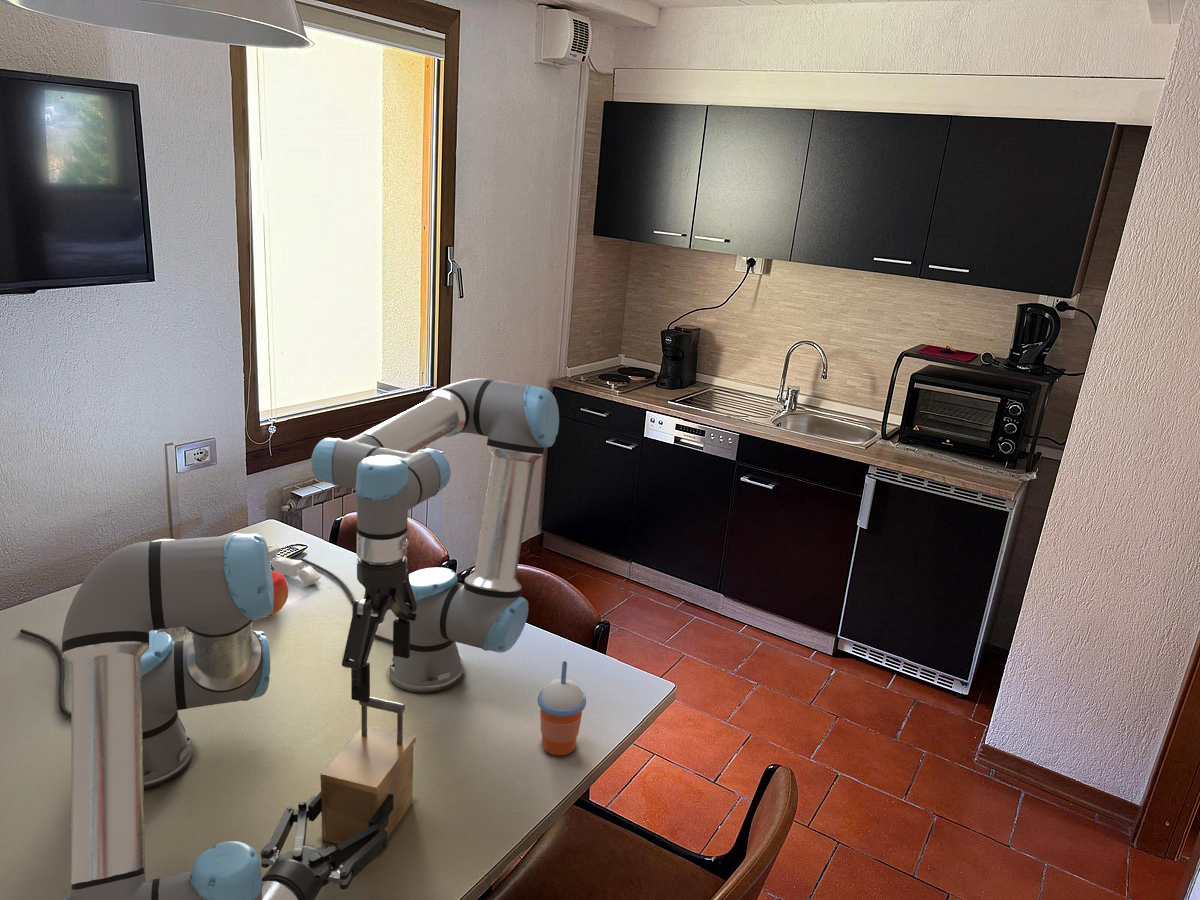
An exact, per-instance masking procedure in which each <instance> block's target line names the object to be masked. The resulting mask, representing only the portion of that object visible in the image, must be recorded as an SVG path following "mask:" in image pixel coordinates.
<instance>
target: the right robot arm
mask: <svg viewBox="0 0 1200 900" xmlns="http://www.w3.org/2000/svg"><path fill="white" fill-rule="evenodd" d="M559 428H560V412H559V405H558V402H557V399H556V397H555V395H554V394H553V392H552V391H550V390H549V389H547V388H543V387H540V386H535V385H533V384H524V383H516V382H511V381H503V380H497V379H492V378H485V377H480V378H479V377H478V378H469V379H465V380H461V381H457V382H453V383H450V384H447V385H445V386H442V387H440V388H437V389H436V390H434V391H432V392H430V393H429V394H428V395H427V396H426V397H425V398H424V400H423V402H421V403H419V404H417V405H415V406H413V407H411V408H409V409H407V410H406V411H403V412H400V413H399V414H397V415H395V416H393V417H391V418H389V419H387V420H385V421H383V422H381V423H379V424H377V425H375V426H372V427H371V428H369V429H367V430H365V431H363V432H361V433H359V434H357V435H355V436H353V437H350V438H349V439H342V438H340V437H336V438H335V437H325V438H323V439H321V440H320V441H319V442H318V443H317V444H316V445H315V447H314V448H313V452H312V454H311V458H310V462H311V471H312V474H313V476H314V477H315V478H316V479H317V480H318V481H321V482H324V483H327V484H331V485H333V486H334V487H335V486H336V487H337V486H338V487H339V486H340V487H344V488H349V489H355V496H356V497H355V498H356V499H355V500H356V556H357V558H356V579H357V582H358V583H359V584H361V586H363V588H364V595H363V599H362V600H358V599H355V598H354V595H353V593H352V592H351V590H350V589H349V587H348V586H347V585H346V584H345V583H344V581H342V580H341V578H339V577H338V576H337V575H336V574H334V573H332V572H331V571H330V570H328V569H326V568H324V567H322V566H320V565H318V564H316V563H314V562H312V561H311V560H307V559H305V558H303V557H301V558H299V559H300V561H303V563H305V564H307V565H309V566H312V567H314V568H316V569H318V570H320V571H322V572H323V573H325V574H327V575H328V576H330V577H331V578H333V579H334V580H335V581H337V582H338V583H339V585H341V586H342V588H343V589H344V590H345V592H346V593H347V594H348V596H349V599H350V600H351V602H352V612H351V613H352V615H351V621H350V625H349V628H348V629H349V630H348V634H347V639H346V642H345V647H344V653H343V657H342V661H341V666H342V667H343V668H348V669H350V677H351V678H350V679H351V681H350V683H351V684H350V686H351V688H350V689H351V694H350V695H351V696H350V697H351V700H352V701H357V702H359V701H361V702H365V703H368V702H369V701H370V697H371V663H370V662H368V659H369V657H370V653H371V650H372V647H373V644H374V641H375V639H377V640H380V641H382V642H386V643H389V644H392V659H391V660H390V665H389V679H390V681H391V682H392V683H393V684H394V685H395V686H396V687H398V688H399V689H401V690H404V691H407V692H410V693H416V694H430V693H431V694H432V693H438V692H441V691H445V690H447V689H450V688H451V687H453V686H455V685H456V684H457V683H458V682H459V681H460V680H461V679H462V676H463V672H464V664H463V660H462V657H461V656H460V653H459V649H458V646H457V643H458V644H462V645H466V646H470V647H473V648H478V649H481V650H483V651H485V652H488V651H490V652H494V653H500V654H501V653H502V654H503V653H505V652H508V651H510V649H512V648H513V647H514V646H515V644H516V643H517V641H518V640H519V639H520V636H521V635H522V632H523V630H524V629H525V626H526V623H527V619H528V615H529V609H530V608H529V601H528V600H527V599H526V598H525V597H523V596H521V595H522V594H521V593H522V585H521V583H520V582H519V581H518V579H517V573H518V567H519V561H520V554H521V548H522V543H523V542H522V541H523V536H524V530H525V523H526V518H527V511H528V507H529V500H530V499H529V498H530V493H531V487H532V482H533V475H534V474H533V473H534V471H535V470H534V469H535V463H536V462H538V460H540V459H541V458H542V457H544V454H545V449H546V448H551V447H552V446H553V445H554V444H555V442H556V439H557V437H558V434H559ZM458 434H473V435H477V436H478V435H479V436H481V437H482V436H483V437H487V440H486V448H487V449H488V451H489V452H490V453H491V457H492V458H491V464H490V470H489V476H488V482H487V488H486V493H485V494H486V495H485V501H484V505H483V507H484V508H483V512H482V519H481V525H480V532H479V537H478V543H477V549H476V550H477V551H476V556H475V561H474V568H473V571H472V573H470V574H469V575H467V576H466V577H465V578H464V583H461V582H458V580H459V579H458V575H457V573H456V572H455V571H454V570H453V569H450V568H448V567H447V568H446V567H427V568H421V569H418V570H416V571H413V572H410V570H409V569H408V557H407V554H408V546H409V545H410V541H409V540H408V517H409V511H410V510H411V509H413V508H415V507H416V506H418V505H419V504H421V503H423V502H425V501H427V500H428V499H430V498H433V497H435V496H437V495H438V493H439V492H441V491H442V490H443V489H444V488H446V486H447V485H448V484H449V483H450V480H451V474H452V471H451V466H450V463H449V461H448V459H447V458H446V456H445V455H444V454H443V453H442V452H440V451H439V450H437V449H435V448H425V447H427V446H429V445H431V444H432V443H434V442H436V441H437V440H439V439H441V438H443V437H446V438H451V437H454V436H457V435H458ZM388 611H391V612H392V613H393V614H392V615H394V616H395V619H393V620H392V639H390V638H387V637H384V636H381V635H379V634H377V632H378V628H379V625H380V624H382V623H383V622H384V620H385V616H386V614H387V613H388Z"/></svg>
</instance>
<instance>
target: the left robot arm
mask: <svg viewBox="0 0 1200 900" xmlns="http://www.w3.org/2000/svg"><path fill="white" fill-rule="evenodd" d="M265 539H266V538H264V537H263V536H262V535H260V534H258V533H240V532H234V533H231V534H229V535H220V536H208V537H193V538H181V539H180V538H179V539H174V540H167V541H155V540H153V541H154V542H151V540H150V541H149V540H147V541H140V542H135V543H131V544H128V545H126V546H123V547H121V548H119V549H118V550H115V551H114V552H112V553H111V554H109V555H108V556H106V557H105V558H104V559H103V560H102V561H100V562H99V563H98V564H97V565H96V566H95V567H94V568H93V569H92V571H90V573H89V574H87V576H86V578H85V579H84V581H83V582H82V583H81V585H80V586H79V587H78V589H77V592H76V593H75V595H74V597H73V599H72V601H71V603H70V606H69V608H68V610H67V613H66V616H65V619H64V623H63V629H62V635H61V650H60V649H59V647H58V646H57V645H56V644H55V643H54V642H53V641H51V640H50V639H48V638H46V637H45V636H43V635H40V634H39V633H35V632H32V631H29V630H27V629H23V628H21V629H20V630H19V633H21V634H24V635H27V636H29V637H32V638H35V639H38V640H40V641H43V642H44V643H45V644H47V645H48V646H49V647H51V648H52V649H53V651H54V652H55V653H56V656H57V657H58V660H59V683H58V684H59V685H58V695H59V707H60V710H61V712H62V713H63V714H64V715H65V716H66V717H68V718H69V719H70V720H71V722H70V723H71V727H70V728H71V729H70V730H71V733H70V735H71V753H70V754H71V756H70V757H71V758H70V759H71V761H70V762H71V766H70V768H71V771H70V773H71V774H70V775H71V777H70V779H71V780H70V781H71V782H70V785H71V787H70V790H71V792H70V793H71V794H70V795H71V796H70V797H71V798H70V801H71V803H70V804H71V805H70V809H71V810H70V812H71V813H70V814H71V815H70V816H71V817H70V818H71V820H70V867H71V868H70V884H71V891H70V896H67V897H66V898H64V899H63V900H316V899H317V896H318V895H319V893H320V891H321V889H322V888H324V887H326V886H327V885H328V884H329V883H333V884H339V889H341V890H347V889H348V888H349V887H350V884H351V883H352V881H353V879H354V878H355V877H356V876H357V875H359V873H360V872H362V871H363V870H364V869H366V867H367V866H368V865H370V864H371V863H372V862H373V861H374V860H375V859H376V858H377V857H378V856H380V854H382V853H383V852H384V851H385V850H387V848H388V843H389V842H388V840H389V837H388V832H387V831H385V828H386V827H387V825H388V824H389V815H390V813H391V812H392V810H393V806H394V795H392V794H389V795H388V796H387V798H386V799H385V801H384V802H383V803H382V805H381V806H380V807H379V809H378V810H377V811H376V813H375V814H374V815H373V817H372V818H371V819H370V821H369V827H368V828H367V829H365V830H363V831H361V832H360V833H358V834H356V835H354V836H352V837H351V838H349V839H347V840H345V841H344V842H342V843H340V844H331V845H329V846H328V847H325V848H322V847H315V846H314V845H312V844H306V839H307V838H306V836H307V828H308V827H307V826H308V821H309V822H314V821H315V820H316V819H318V818H317V817H319V815H320V814H322V813H321V791H319V792H318V793H317V795H316V794H314V795H312V796H311V797H309V798H308V800H307V801H306V802H305V801H301V802H299V803H298V807H297V808H294V806H287V807H286V808H285V809H284V811H283V814H282V815H281V817H280V819H279V822H278V824H277V826H276V828H275V830H274V832H273V834H272V836H271V837H270V838H271V839H270V840H269V842H267V844H266V845H265V846H264V847H262V849H261V850H260V858H259V855H258V852H257V851H256V849H255V848H254V847H252V846H251V845H250V844H248V843H246V842H243V841H237V840H228V841H223V842H219V843H216V844H215V845H214V846H212V847H211V848H210V849H205V850H203V851H202V852H201V853H200V854H199V855H198V856H197V857H196V859H195V861H194V863H193V865H192V869H191V870H190V871H186V872H181V873H176V874H173V875H172V874H171V875H168V876H163V877H158V878H153V879H149V880H146V872H145V871H146V870H145V869H146V841H145V840H146V839H145V838H146V837H145V836H146V835H145V834H146V833H145V791H144V790H148V789H152V788H155V787H159V786H160V785H163V784H165V783H167V782H169V781H171V780H172V779H174V778H176V777H177V776H178V775H180V774H182V772H184V771H185V770H186V769H187V767H188V766H189V765H190V763H191V761H192V758H193V756H194V755H193V753H194V752H193V743H192V740H191V737H190V735H189V733H188V732H187V731H186V729H185V726H184V724H183V722H182V720H181V719H180V716H179V711H182V710H188V709H195V708H201V707H208V706H214V705H220V704H221V705H222V704H228V703H234V702H235V703H236V702H244V701H245V702H248V701H250V700H253V699H257V698H260V697H262V696H264V695H265V694H266V693H267V691H268V689H269V685H270V675H271V651H270V643H269V639H268V636H267V634H266V633H265V632H264V631H262V630H253V629H252V628H253V627H252V626H253V625H252V623H253V622H254V621H255V620H256V621H257V620H260V619H262V618H266V617H265V616H268V615H270V614H271V613H272V611H273V606H274V589H273V578H272V569H271V564H270V560H269V551H268V547H267V546H268V544H267V541H266V540H265ZM177 628H184V629H186V630H187V631H188V632H190V634H191V638H190V639H189V638H188V639H183V640H182V639H181V640H175V641H174V638H173V637H172V636H171V635H170V634H169V633H168V632H165V631H158V630H169V629H177ZM65 661H66V662H67V663H69V665H70V666H71V712H70V711H69V710H68V709H67V707H66V703H65V691H64V690H65V688H64V687H65V675H66V673H65V672H66V671H65ZM294 823H296V826H295V827H296V829H295V837H294V842H293V849H292V850H290V851H289V850H288V851H287V852H285V853H282V854H281V852H282V849H283V847H284V845H285V843H286V841H287V839H288V837H289V834H290V832H291V831H292V827H293V826H294ZM343 863H344V864H343ZM270 866H271V867H270ZM269 867H270V868H269ZM261 868H263V869H267V868H269V869H268V870H267V871H266V873H264V875H263V876H262V872H261Z"/></svg>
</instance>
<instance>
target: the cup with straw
mask: <svg viewBox="0 0 1200 900" xmlns="http://www.w3.org/2000/svg"><path fill="white" fill-rule="evenodd" d="M567 669H568V662H567V661H566V660H565V661H562V662H561V677H560V678H557V679H554V680H552V681H549V683H547V684H546V685H545V687H543V688H542V689H541V690H540V692H539V693H538V695H537V705H538V707H539V708H540V710H539V715H540V717H539V718H540V733H541V739H542V740H541V741H542V743H541V744H542V748H543V750H544V751H546V752H547V753H548V754H550V755H553V756H565V755H568V754H571V753H572V752H573V751H574V750H575V747H576V742H577V737H578V735H579V731H580V727H581V722H582V717H583V711H584V710H585V708H586V705H587V697H586V695H585V693H584V692H583V691H582V689H581V687H580V686H579V685H578V684H577V683H576V682H574V681H573V680H571V679H567Z"/></svg>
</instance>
